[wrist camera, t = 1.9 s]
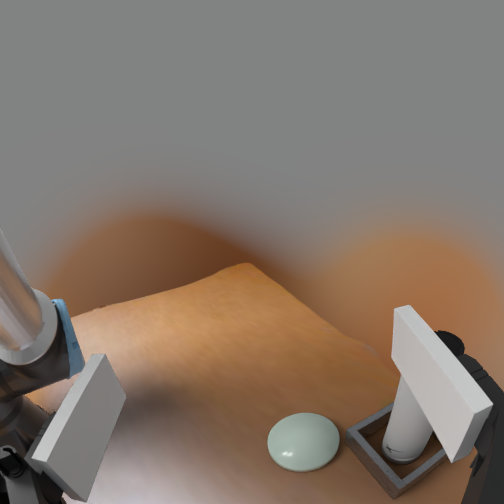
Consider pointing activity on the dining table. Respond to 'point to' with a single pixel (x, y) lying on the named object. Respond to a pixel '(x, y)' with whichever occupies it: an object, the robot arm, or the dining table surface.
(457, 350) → the travel mug
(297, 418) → the disc
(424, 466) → the square frame
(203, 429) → the dining table surface
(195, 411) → the dining table surface
